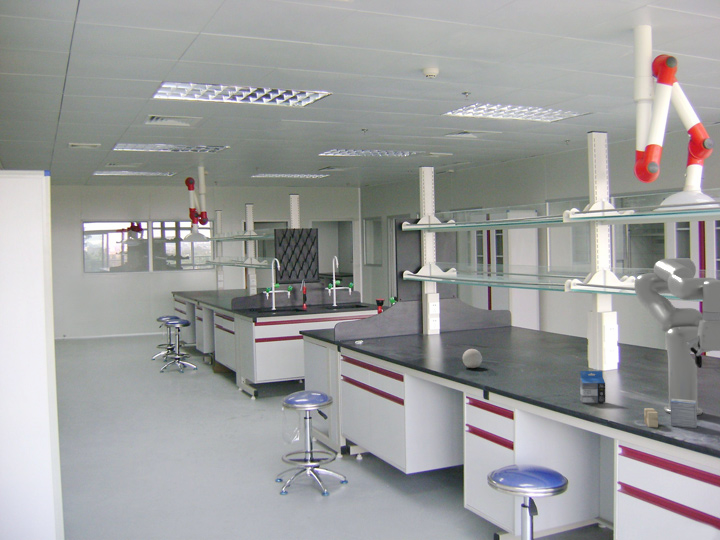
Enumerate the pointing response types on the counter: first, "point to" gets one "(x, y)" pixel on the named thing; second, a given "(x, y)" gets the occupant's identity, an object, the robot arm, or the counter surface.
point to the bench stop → (650, 417)
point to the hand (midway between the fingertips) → (714, 367)
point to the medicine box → (683, 413)
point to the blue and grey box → (592, 387)
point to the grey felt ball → (472, 358)
